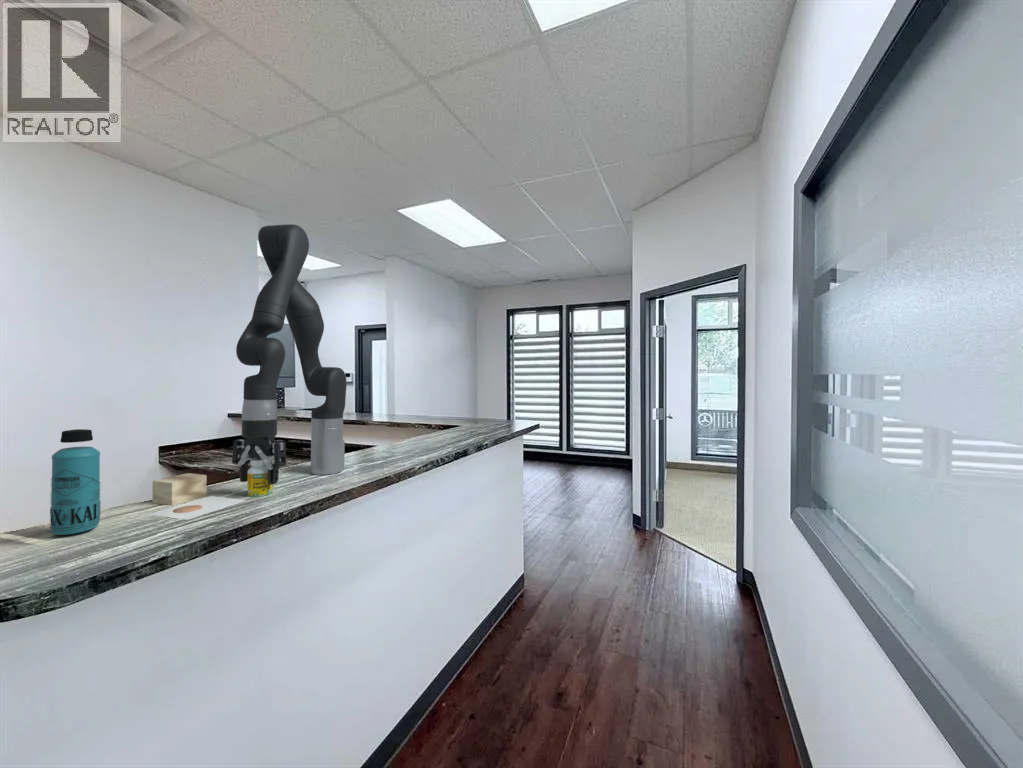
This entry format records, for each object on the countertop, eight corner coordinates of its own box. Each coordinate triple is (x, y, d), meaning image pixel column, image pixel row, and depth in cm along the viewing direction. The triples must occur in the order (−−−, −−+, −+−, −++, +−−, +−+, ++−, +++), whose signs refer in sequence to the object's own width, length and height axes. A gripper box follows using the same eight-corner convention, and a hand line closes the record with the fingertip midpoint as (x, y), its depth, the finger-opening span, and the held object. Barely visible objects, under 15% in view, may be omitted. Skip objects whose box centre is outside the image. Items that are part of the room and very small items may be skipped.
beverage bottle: (53, 535, 77) (53, 428, 77) (103, 527, 81) (103, 426, 81) (45, 546, 72) (45, 433, 72) (99, 537, 76) (99, 430, 76)
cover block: (188, 497, 103) (188, 473, 102) (206, 499, 101) (206, 475, 101) (152, 506, 95) (152, 480, 95) (171, 509, 93) (171, 483, 93)
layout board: (211, 499, 101) (211, 495, 101) (247, 503, 98) (247, 500, 98) (147, 518, 87) (147, 514, 87) (187, 523, 84) (187, 519, 84)
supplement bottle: (269, 493, 107) (269, 456, 107) (275, 497, 103) (275, 459, 103) (245, 497, 103) (245, 458, 103) (250, 501, 99) (250, 462, 99)
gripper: (295, 417, 104) (293, 481, 104) (250, 415, 108) (248, 477, 108) (270, 420, 97) (269, 488, 97) (223, 417, 101) (222, 483, 101)
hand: (258, 482), depth 103 cm, fingers open, 8 cm apart
